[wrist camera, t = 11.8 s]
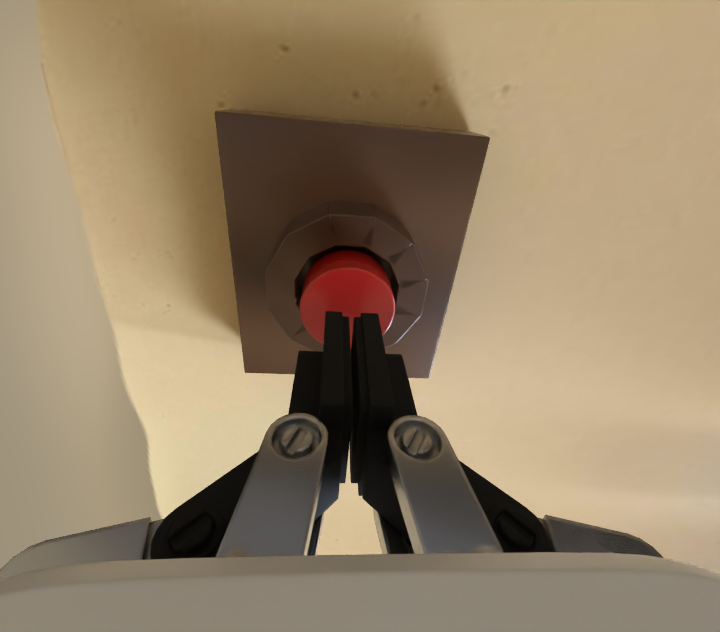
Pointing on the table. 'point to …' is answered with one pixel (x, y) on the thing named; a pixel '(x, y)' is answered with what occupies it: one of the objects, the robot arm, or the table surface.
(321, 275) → the button
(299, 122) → the button block
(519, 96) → the table surface
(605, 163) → the table surface
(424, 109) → the table surface
